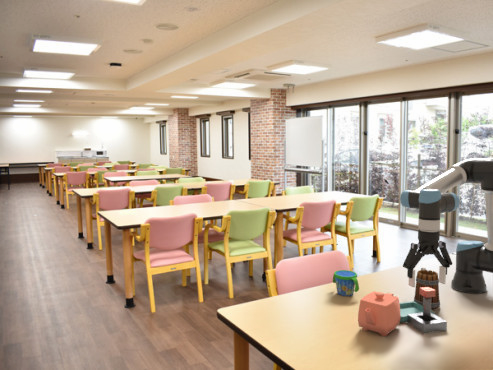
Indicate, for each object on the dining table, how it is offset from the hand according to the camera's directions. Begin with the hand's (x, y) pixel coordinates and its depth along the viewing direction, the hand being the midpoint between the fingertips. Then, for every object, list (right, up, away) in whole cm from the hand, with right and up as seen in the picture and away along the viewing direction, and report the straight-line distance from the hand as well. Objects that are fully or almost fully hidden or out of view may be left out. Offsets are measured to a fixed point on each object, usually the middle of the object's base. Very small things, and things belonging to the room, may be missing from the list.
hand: (427, 284), depth 158 cm
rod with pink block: (0, -17, +2) cm, 17 cm away
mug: (+10, -15, +25) cm, 30 cm away
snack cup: (-22, -14, +38) cm, 46 cm away
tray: (-2, -16, +13) cm, 21 cm away
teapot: (-19, -17, 0) cm, 25 cm away
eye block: (0, -17, +2) cm, 17 cm away
